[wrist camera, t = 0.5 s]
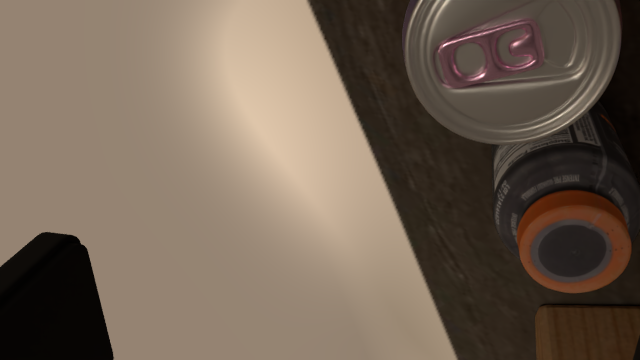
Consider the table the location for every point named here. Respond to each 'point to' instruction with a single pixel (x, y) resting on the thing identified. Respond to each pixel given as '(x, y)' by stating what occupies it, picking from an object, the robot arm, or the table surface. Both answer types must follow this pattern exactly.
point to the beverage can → (510, 63)
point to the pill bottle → (568, 204)
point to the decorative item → (586, 332)
